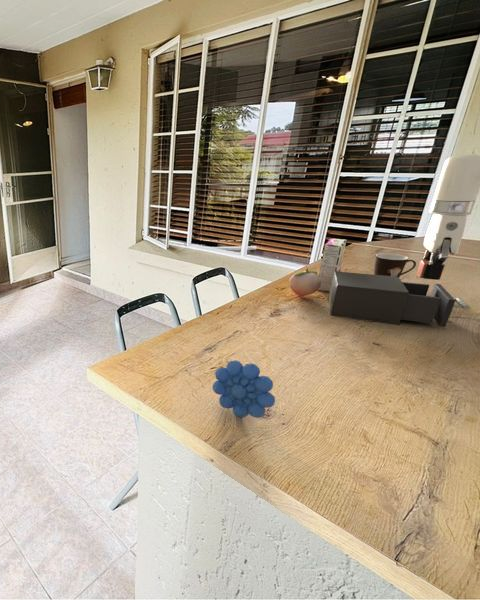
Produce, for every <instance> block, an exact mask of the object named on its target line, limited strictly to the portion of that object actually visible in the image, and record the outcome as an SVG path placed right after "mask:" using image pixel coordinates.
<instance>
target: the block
mask: <svg viewBox="0 0 480 600" xmlns="http://www.w3.org/2000/svg"><path fill="white" fill-rule="evenodd" d="M427 264H429V261H426V260H422V259H421V260H420V261H419V264H418V267H417V270H416V275H417V277H419V279H424V278H423V274H424V271H425V268H426V265H427ZM445 266H446V264H445V265H444V267H443V270H442V273H441V276H440V279H439V280H438V281H440V280H441V278H442V275H443V272H444V269H445Z"/></svg>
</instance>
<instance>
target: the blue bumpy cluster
mask: <svg viewBox="0 0 480 600" xmlns="http://www.w3.org/2000/svg"><path fill="white" fill-rule="evenodd" d="M260 374H261V370H260V367H259V366H258V365H257V364H255V363H252V362H251V363H246V364H245V365H243V364H242V362H240V361H239V360H235V359H234V360H230V361H228V362H227V364H226V365H225V367H218V368H217V369H216V370H215V372H214V376H215V379H216V380H215V381H214V382H213V384H212V391H213V392H214V393H215V394H216V395H219V399H218V401H219V405H220V406H221V407H222V408H224V409H232V413H233V415H235V417H237V418H241V419H242V418H243V419H244V418H247V417H248V416H251V418H252V417H253V418H255V419H258V418H262V417H264V416H265V413H266V409H267V408H269V409H270V408H272V407H274V405H275V402H276V398H275V395H273V394H272V393H271V392H270V391H271V390H272V389H273V386H274V382H273V380H272V379H271V378H270V377H269V376H267V375H260Z"/></svg>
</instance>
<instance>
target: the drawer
mask: <svg viewBox="0 0 480 600" xmlns="http://www.w3.org/2000/svg"><path fill="white" fill-rule="evenodd" d="M402 283H403V284H404V286H405V287H406V289H407V290H408V292H409V295H408V298H407V301H406V304H405V307H404V311H403V314H402V317H401V320H402V321H409V322H416V323H417V322H418V323H424V324H431V325H432V324H433V322H434V321H435V323H436V324H437V326H438V327H439V328H446V327H447V325H448V322H449V319H450V316H451V314H452V311H453V309H454V308H458V309H459V308H460V309H462V310H463V311H469V310H470V309H471V306H470V305H469V304H468V303H467V302H466V301H465V300H464V299H463V298H462V297H457V298H454V297H453V296H452V294H450V293H449V291H448V290H446V288H445V287H444V286H443V285H442V284H441V283H434V285H433V288H432V290H431V293H430V296H428V291H429V288H430V284H427V283H417V282H407V281H402ZM455 303H456V304H455ZM401 320H400V321H401Z"/></svg>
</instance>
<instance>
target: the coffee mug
mask: <svg viewBox="0 0 480 600" xmlns="http://www.w3.org/2000/svg"><path fill="white" fill-rule="evenodd" d="M409 262H412V263H413V265H412V266H411V267H410V268H409V269H408V270H406V271H404V268H405V267H406V265H407V263H409ZM416 266H417V262H416V261H415V260H413V259H409V257H408V256H406V255H401V254H397V253H377V254H375V259H374V269H373V275H383V276H394V277H399V278H400V277H401V276H403V275H405V274H407V273H409V272H411V271H412V270H414V269H415V268H416Z"/></svg>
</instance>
